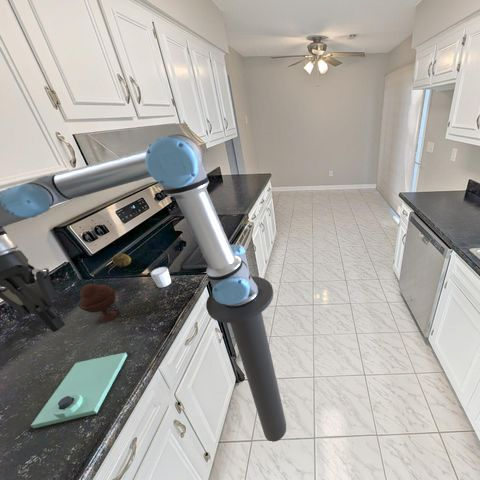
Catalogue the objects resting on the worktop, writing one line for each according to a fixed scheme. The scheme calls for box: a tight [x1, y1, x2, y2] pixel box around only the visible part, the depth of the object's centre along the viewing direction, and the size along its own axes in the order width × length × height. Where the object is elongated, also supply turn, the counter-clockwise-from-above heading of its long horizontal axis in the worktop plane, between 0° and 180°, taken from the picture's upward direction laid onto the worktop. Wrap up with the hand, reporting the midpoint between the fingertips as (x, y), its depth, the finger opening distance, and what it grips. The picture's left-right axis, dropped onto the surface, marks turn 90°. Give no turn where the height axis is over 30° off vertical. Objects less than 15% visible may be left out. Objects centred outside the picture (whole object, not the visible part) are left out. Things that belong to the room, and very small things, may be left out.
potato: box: [111, 253, 132, 268], centre depth 129 cm, size 8×13×8 cm, turn 23°
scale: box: [30, 351, 128, 429], centre depth 71 cm, size 14×18×3 cm
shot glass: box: [149, 266, 172, 289], centre depth 113 cm, size 7×7×7 cm
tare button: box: [58, 396, 73, 409], centre depth 65 cm, size 2×2×2 cm
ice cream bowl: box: [77, 283, 118, 323], centre depth 94 cm, size 11×11×15 cm
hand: (59, 328), depth 71 cm, fingers closed
